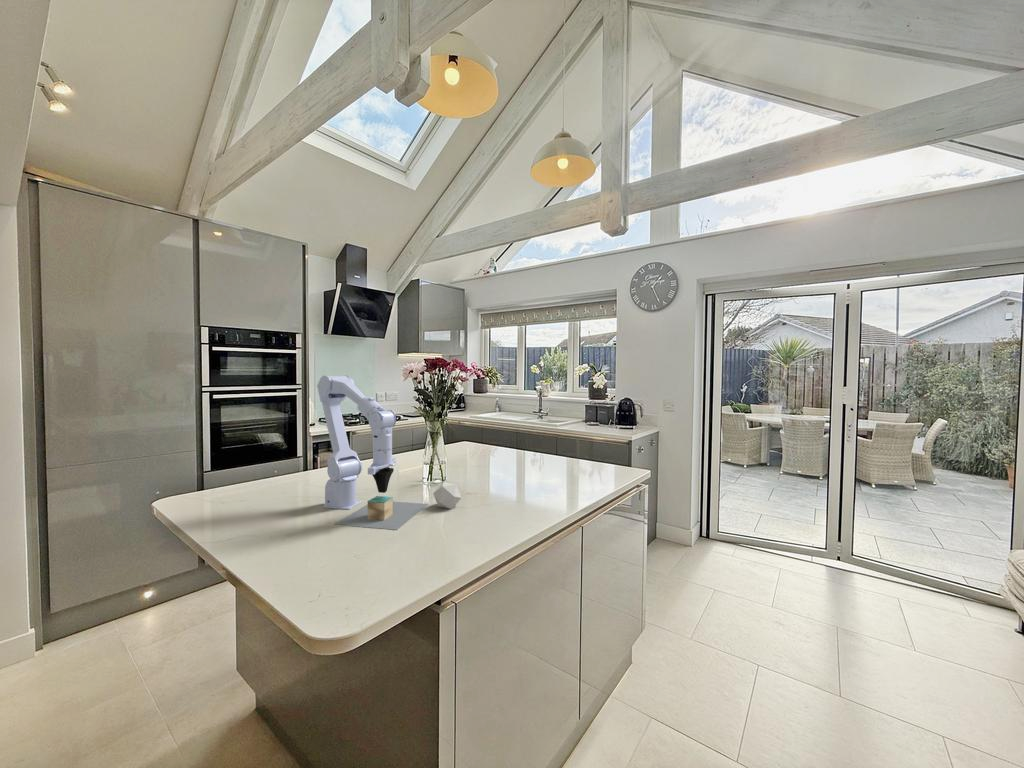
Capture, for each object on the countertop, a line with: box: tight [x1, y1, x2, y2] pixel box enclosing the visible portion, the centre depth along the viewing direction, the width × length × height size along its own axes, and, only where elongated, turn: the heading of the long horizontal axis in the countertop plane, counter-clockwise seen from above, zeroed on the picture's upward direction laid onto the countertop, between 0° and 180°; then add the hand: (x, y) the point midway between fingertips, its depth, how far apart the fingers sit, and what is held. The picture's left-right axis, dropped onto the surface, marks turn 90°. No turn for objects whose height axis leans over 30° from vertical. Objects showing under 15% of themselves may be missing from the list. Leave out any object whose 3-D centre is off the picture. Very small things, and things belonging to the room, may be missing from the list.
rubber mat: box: [333, 500, 429, 531], centre depth 135 cm, size 20×24×1 cm
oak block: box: [367, 495, 394, 520], centre depth 132 cm, size 6×6×6 cm
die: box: [432, 482, 462, 510], centre depth 142 cm, size 8×9×10 cm
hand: (382, 492), depth 133 cm, fingers closed
